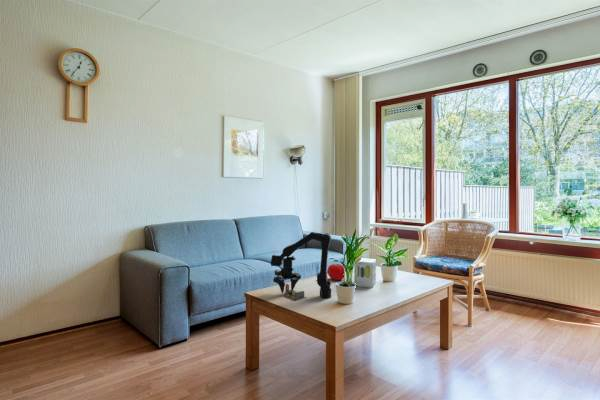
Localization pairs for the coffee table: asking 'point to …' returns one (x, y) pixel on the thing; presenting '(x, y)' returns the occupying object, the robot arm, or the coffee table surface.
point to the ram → (288, 292)
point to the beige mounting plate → (297, 296)
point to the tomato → (336, 272)
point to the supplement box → (365, 272)
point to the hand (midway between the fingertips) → (287, 291)
